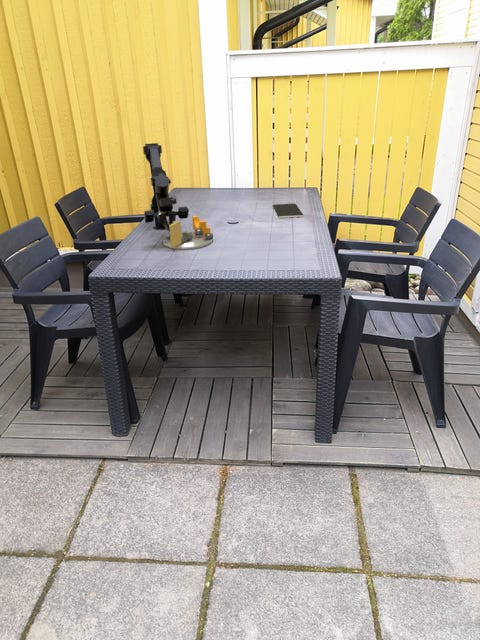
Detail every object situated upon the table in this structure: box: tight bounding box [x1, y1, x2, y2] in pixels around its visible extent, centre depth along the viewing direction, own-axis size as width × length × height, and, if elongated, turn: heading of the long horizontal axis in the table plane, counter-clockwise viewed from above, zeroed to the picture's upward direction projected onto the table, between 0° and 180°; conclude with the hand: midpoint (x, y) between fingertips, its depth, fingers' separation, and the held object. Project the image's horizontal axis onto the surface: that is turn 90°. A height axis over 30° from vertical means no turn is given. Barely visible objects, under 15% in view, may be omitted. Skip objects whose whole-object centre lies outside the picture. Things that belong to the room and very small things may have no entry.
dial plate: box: [162, 228, 214, 251], centre depth 214 cm, size 22×22×3 cm
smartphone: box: [272, 203, 305, 220], centre depth 257 cm, size 13×27×2 cm, turn 4°
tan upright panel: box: [169, 220, 193, 247], centre depth 207 cm, size 15×4×10 cm, turn 156°
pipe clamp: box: [191, 215, 211, 234], centre depth 227 cm, size 12×4×6 cm, turn 25°
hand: (170, 231), depth 204 cm, fingers closed
